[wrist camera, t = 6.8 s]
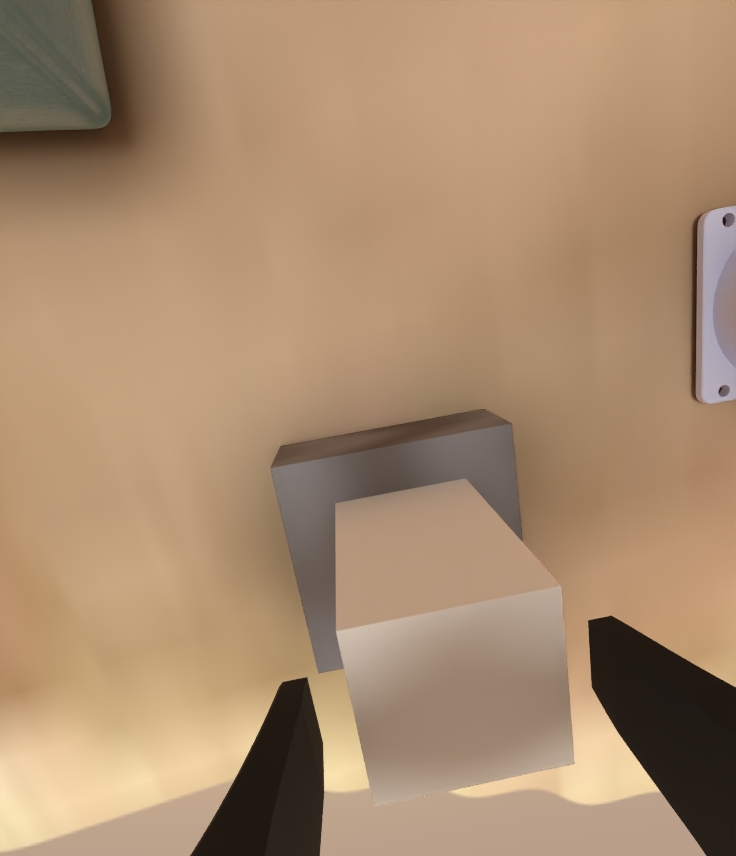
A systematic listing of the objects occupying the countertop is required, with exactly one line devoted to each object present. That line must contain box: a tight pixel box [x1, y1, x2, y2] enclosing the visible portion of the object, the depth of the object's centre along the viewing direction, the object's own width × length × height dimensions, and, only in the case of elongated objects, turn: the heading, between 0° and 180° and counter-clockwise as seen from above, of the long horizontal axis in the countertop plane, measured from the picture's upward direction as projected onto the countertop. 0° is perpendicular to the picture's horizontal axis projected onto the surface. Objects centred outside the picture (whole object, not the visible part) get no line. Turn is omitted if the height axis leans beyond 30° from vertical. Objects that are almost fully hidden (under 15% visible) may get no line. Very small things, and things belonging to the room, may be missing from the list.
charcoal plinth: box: [270, 409, 523, 673], centre depth 18 cm, size 9×9×3 cm
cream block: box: [335, 478, 575, 807], centre depth 13 cm, size 5×5×7 cm
